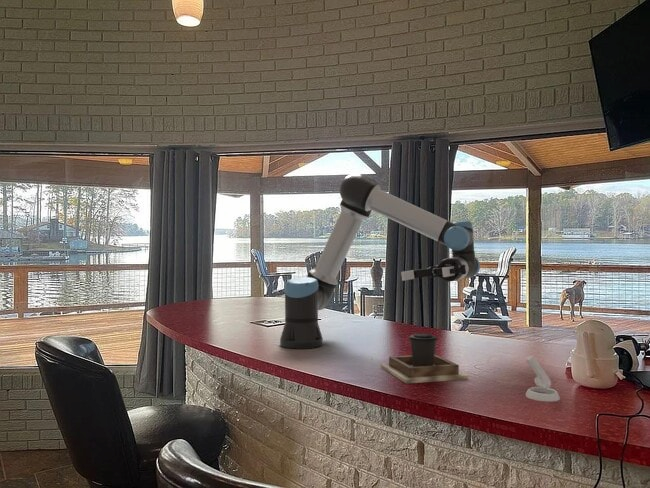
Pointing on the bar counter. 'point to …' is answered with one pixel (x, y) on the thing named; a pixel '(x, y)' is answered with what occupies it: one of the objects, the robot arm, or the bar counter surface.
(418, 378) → the collar board
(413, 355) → the coffee cup
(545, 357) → the bar counter surface
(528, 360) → the white ring with rod
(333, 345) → the bar counter surface
